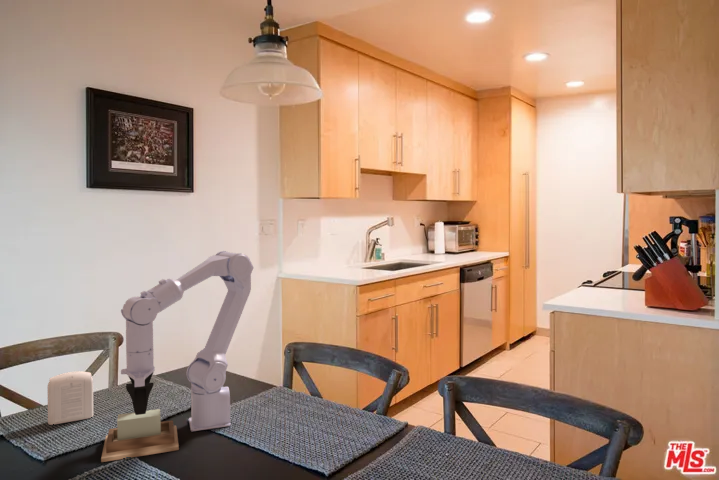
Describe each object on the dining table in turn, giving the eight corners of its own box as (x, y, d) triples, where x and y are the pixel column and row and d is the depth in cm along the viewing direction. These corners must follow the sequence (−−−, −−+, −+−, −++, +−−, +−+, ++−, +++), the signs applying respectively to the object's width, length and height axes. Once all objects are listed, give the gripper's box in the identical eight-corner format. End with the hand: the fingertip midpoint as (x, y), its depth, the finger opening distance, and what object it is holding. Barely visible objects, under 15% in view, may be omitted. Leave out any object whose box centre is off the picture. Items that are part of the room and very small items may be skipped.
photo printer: (92, 412, 136) (91, 367, 135) (94, 418, 132) (93, 371, 132) (47, 421, 130) (46, 373, 129) (48, 427, 127) (46, 378, 126)
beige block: (118, 439, 118) (118, 414, 118) (160, 433, 121) (160, 408, 121) (117, 447, 114) (117, 421, 114) (160, 440, 118) (160, 415, 117)
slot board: (176, 428, 126) (176, 417, 126) (178, 449, 115) (178, 437, 115) (106, 438, 120) (105, 427, 120) (101, 462, 109) (100, 449, 109)
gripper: (122, 343, 122) (123, 399, 123) (118, 359, 109) (119, 422, 109) (154, 340, 125) (155, 395, 125) (154, 356, 111) (155, 417, 112)
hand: (140, 407), depth 118 cm, fingers open, 7 cm apart
